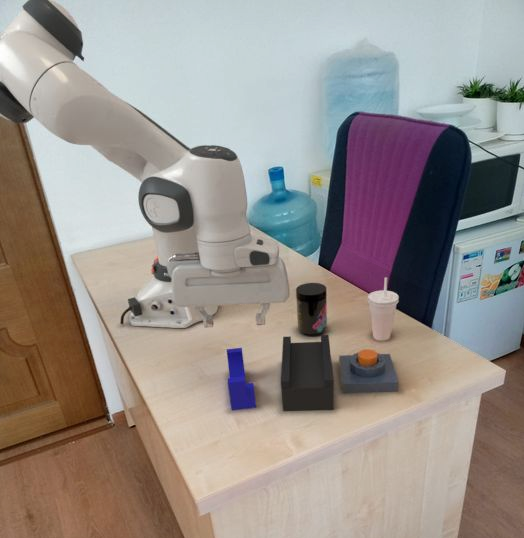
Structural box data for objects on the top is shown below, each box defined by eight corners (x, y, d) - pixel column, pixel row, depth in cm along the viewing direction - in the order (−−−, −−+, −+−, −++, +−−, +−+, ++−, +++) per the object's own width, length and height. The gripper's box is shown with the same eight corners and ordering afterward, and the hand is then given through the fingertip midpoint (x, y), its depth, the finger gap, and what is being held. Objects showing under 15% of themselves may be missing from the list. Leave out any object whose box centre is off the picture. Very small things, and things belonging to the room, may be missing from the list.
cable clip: (256, 407, 91) (253, 380, 88) (231, 410, 91) (227, 383, 88) (252, 372, 101) (249, 346, 98) (230, 374, 101) (226, 349, 98)
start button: (358, 367, 93) (359, 359, 92) (356, 357, 96) (357, 349, 96) (378, 366, 93) (378, 358, 92) (375, 356, 96) (376, 348, 95)
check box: (342, 393, 93) (342, 375, 91) (339, 364, 101) (339, 347, 99) (397, 391, 92) (399, 373, 90) (389, 363, 100) (390, 345, 98)
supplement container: (309, 340, 111) (307, 297, 105) (292, 329, 116) (289, 288, 111) (333, 331, 113) (332, 289, 108) (315, 321, 119) (314, 280, 113)
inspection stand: (283, 411, 89) (280, 381, 86) (285, 364, 103) (283, 336, 100) (333, 410, 89) (333, 379, 85) (328, 362, 102) (328, 334, 99)
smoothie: (379, 346, 106) (381, 285, 99) (360, 334, 111) (361, 276, 104) (402, 338, 108) (406, 278, 101) (383, 326, 113) (386, 268, 106)
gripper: (159, 261, 81) (174, 335, 88) (285, 254, 79) (290, 331, 86) (168, 248, 86) (182, 319, 93) (286, 241, 84) (291, 314, 91)
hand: (235, 325), depth 90 cm, fingers open, 8 cm apart
